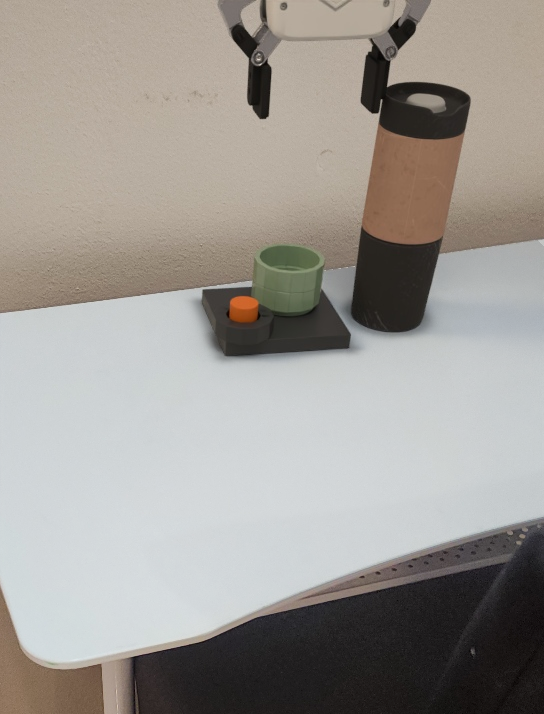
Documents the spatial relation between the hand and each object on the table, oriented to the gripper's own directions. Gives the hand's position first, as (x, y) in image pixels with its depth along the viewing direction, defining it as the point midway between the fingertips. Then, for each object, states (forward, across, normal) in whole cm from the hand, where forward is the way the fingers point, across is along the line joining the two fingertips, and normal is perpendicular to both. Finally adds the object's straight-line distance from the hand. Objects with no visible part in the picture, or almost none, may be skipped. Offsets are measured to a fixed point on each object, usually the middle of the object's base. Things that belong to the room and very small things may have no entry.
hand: (315, 111), depth 85 cm
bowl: (+17, -1, +1) cm, 17 cm away
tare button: (+16, -6, -4) cm, 18 cm away
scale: (+19, -2, -1) cm, 19 cm away
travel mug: (+19, +9, 0) cm, 21 cm away
